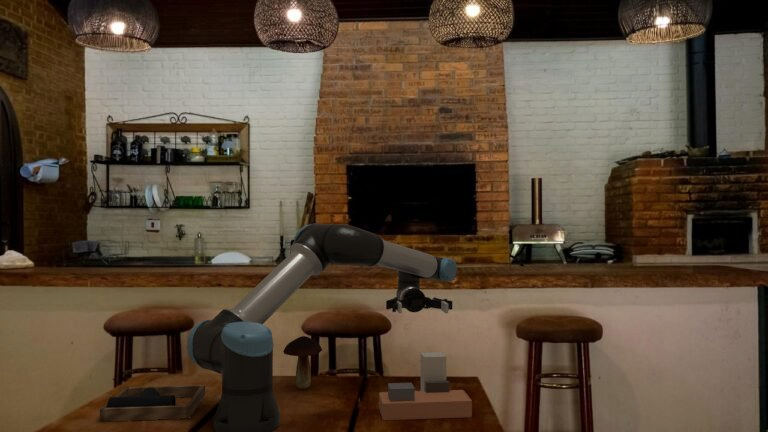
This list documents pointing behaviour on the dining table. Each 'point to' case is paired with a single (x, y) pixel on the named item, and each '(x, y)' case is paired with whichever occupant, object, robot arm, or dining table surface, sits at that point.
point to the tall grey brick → (432, 367)
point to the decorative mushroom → (303, 358)
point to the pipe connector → (143, 399)
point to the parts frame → (155, 411)
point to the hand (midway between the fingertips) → (423, 308)
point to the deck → (423, 402)
